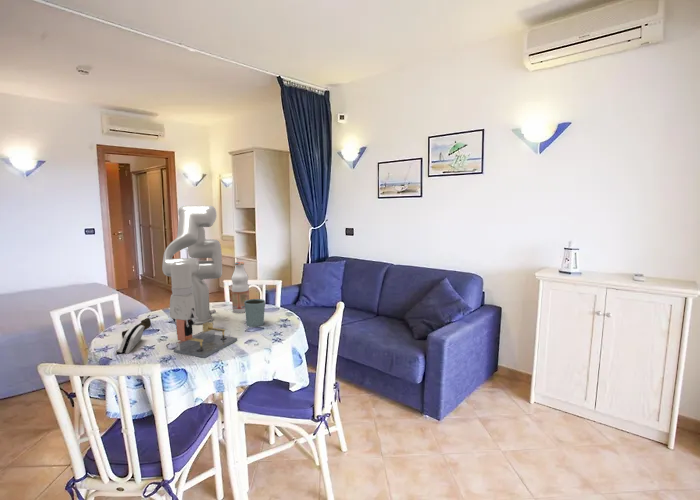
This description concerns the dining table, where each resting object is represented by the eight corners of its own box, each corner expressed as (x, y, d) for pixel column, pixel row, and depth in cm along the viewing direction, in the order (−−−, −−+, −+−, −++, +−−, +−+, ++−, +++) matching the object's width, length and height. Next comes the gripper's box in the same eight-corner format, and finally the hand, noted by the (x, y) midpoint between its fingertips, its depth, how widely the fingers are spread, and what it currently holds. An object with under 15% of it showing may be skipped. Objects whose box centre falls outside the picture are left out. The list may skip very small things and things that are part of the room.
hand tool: (129, 339, 167) (129, 329, 166) (121, 339, 167) (120, 329, 166) (155, 326, 185) (155, 317, 185) (148, 325, 186) (147, 316, 185)
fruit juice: (230, 313, 206) (227, 263, 202) (235, 308, 215) (233, 261, 212) (246, 313, 206) (244, 263, 202) (251, 308, 215) (250, 261, 211)
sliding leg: (185, 343, 156) (183, 316, 155) (206, 347, 152) (204, 319, 151) (178, 346, 153) (176, 319, 151) (199, 350, 149) (197, 322, 147)
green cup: (243, 323, 189) (242, 300, 187) (262, 320, 194) (261, 297, 192) (248, 328, 180) (247, 304, 178) (268, 325, 185) (267, 302, 183)
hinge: (128, 340, 165) (135, 319, 165) (139, 342, 166) (146, 322, 166) (114, 354, 149) (121, 331, 149) (126, 357, 150) (134, 334, 150)
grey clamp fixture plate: (208, 336, 170) (208, 320, 169) (237, 340, 164) (236, 324, 163) (173, 352, 152) (172, 335, 151) (204, 357, 146) (203, 340, 145)
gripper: (159, 291, 151) (162, 334, 153) (191, 295, 145) (193, 340, 147) (174, 287, 158) (176, 329, 160) (205, 291, 152) (207, 333, 154)
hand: (184, 333), depth 153 cm, fingers closed on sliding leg, 4 cm apart
